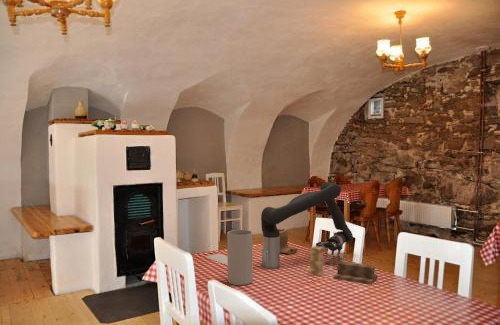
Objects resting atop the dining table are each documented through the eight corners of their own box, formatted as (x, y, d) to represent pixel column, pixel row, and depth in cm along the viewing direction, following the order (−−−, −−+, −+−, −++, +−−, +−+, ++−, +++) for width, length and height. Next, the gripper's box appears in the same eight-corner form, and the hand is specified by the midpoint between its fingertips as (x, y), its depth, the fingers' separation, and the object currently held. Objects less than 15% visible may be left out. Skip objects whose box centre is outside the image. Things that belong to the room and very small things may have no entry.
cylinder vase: (256, 279, 228) (256, 231, 227) (246, 287, 217) (245, 235, 216) (234, 276, 233) (234, 229, 232) (223, 283, 222) (222, 233, 221)
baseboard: (234, 270, 247) (251, 266, 254) (234, 265, 247) (251, 261, 254) (202, 259, 270) (218, 255, 278) (202, 254, 270) (218, 251, 278)
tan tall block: (310, 274, 237) (310, 248, 236) (314, 271, 241) (314, 246, 240) (319, 275, 234) (319, 249, 234) (322, 273, 239) (322, 247, 238)
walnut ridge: (333, 278, 229) (333, 265, 229) (341, 272, 239) (341, 259, 239) (371, 284, 219) (371, 270, 219) (377, 277, 230) (377, 264, 229)
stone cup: (267, 252, 284) (267, 228, 283) (280, 248, 292) (280, 226, 291) (286, 256, 273) (285, 232, 272) (298, 253, 281) (298, 229, 281)
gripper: (323, 235, 264) (312, 241, 250) (346, 237, 257) (337, 243, 243) (323, 247, 265) (312, 254, 251) (346, 250, 257) (337, 257, 243)
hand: (324, 248), depth 247 cm, fingers open, 8 cm apart
